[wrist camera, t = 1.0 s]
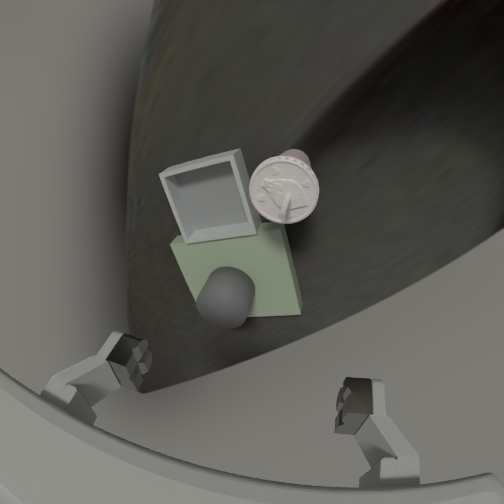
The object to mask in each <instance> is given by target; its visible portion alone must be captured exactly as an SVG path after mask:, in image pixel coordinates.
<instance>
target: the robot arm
mask: <svg viewBox="0 0 504 504" xmlns="http://www.w3.org/2000/svg"><path fill="white" fill-rule="evenodd" d="M147 346H148V343H147V340H145V339H141V338H138V337H135V336H132V335H128V334H126V333H122V332H119V331H114V332H112V334H111V335H110V336H109V338H108V339H107V341H106V342H105V344H104V345H103V347H102V348H101V349H100V351H99V352H98V354H97V355H96V356H91V357H89V358H87V359H85V360H83V361H81V362H79V363H77V364H75V365H73V366H71V367H69V368H67V369H65V370H63V371H61V372H59V373H57V374H55V375H53V377H52V378H51V379H50V381H49V382H48V384H47V385H46V387H45V388H44V390H43V391H42V392H41V394H40V395H38V394H37V393H35V392H34V391H32V390H31V389H29V388H27V387H26V386H24V385H23V384H22V383H20V382H19V381H17V380H16V379H14V378H13V377H11V376H10V375H9V374H7V373H6V372H5V371H3V370H2V369H1V368H0V504H504V484H503V483H502V482H501V481H500V480H499V479H498V477H497V476H495V475H494V474H493V473H483V474H479V475H474V476H470V477H465V478H460V479H455V480H449V481H442V482H436V483H428V484H420V481H419V480H420V478H419V455H418V454H417V452H416V451H415V450H414V448H413V447H412V446H411V444H410V443H409V441H408V440H407V439H406V437H405V436H404V435H403V433H402V432H401V430H400V429H399V428H398V426H397V425H396V424H395V422H394V421H393V420H392V418H391V417H390V416H389V415H388V416H387V415H386V400H385V386H384V381H383V380H376V379H367V378H352V377H346V378H345V380H344V382H343V387H342V388H340V391H339V394H338V398H337V404H336V410H337V412H338V415H337V417H336V419H335V432H334V433H340V434H352V435H354V436H355V438H356V440H357V442H358V444H359V445H360V447H361V449H362V451H363V453H364V455H365V457H366V459H367V461H368V463H369V464H370V466H371V469H370V470H369V471H368V472H366V473H365V474H364V475H363V476H361V477H360V479H359V488H347V487H324V486H323V487H322V486H311V485H300V484H291V483H284V482H276V481H270V480H263V479H258V478H252V477H247V476H242V475H237V474H232V473H228V472H223V471H219V470H215V469H211V468H207V467H203V466H200V465H196V464H193V463H190V462H186V461H183V460H180V459H176V458H173V457H170V456H167V455H164V454H162V453H159V452H156V451H153V450H150V449H148V448H145V447H142V446H140V445H137V444H135V443H132V442H130V441H127V440H125V439H123V438H120V437H118V436H116V435H113V434H111V433H109V432H107V431H105V430H102V429H100V428H98V427H96V426H94V425H93V424H94V422H95V420H96V418H97V416H96V414H95V413H94V411H93V410H92V409H91V407H92V406H93V405H95V404H96V403H97V402H99V401H100V400H102V399H103V398H105V397H106V396H108V395H109V394H111V393H112V392H114V391H115V390H117V389H118V388H119V387H121V386H124V387H127V388H130V389H133V390H136V391H137V390H138V389H139V387H140V385H141V383H142V381H143V374H144V373H146V372H148V370H149V368H150V366H151V362H152V355H151V352H150V351H149V350H148V349H147ZM120 385H121V386H120Z"/></svg>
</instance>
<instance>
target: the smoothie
mask: <svg viewBox="0 0 504 504" xmlns="http://www.w3.org/2000/svg"><path fill="white" fill-rule="evenodd" d="M249 195H250V199H251V202H252V204H253V205H254V207H255V209H256V210H257V211H258V212H259V213H260V214H261V215H262V216H263V217H265V218H266V219H268V220H270V221H273V222H276V223H281V224H291V223H296V222H299V221H301V220H303V219H305V218H306V217H307V216H308V215H310V214H311V212H312V211H313V210H314V208H315V206H316V204H317V200H318V197H319V184H318V180H317V178H316V176H315V174H314V172H313V171H312V169H311V165H310V161H309V158H308V157H307V155H306V154H305V153H304V152H302V151H300V150H297V149H291V150H288V151H286V152H284V153H282V154H281V155H279V156H277V157H272V158H270V159H267V160H265V161H264V162H262V163H261V164H260V165H259V166H258V167H257V168H256V170H255V171H254V173H253V175H252V177H251V180H250V184H249Z"/></svg>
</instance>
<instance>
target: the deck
mask: <svg viewBox="0 0 504 504" xmlns="http://www.w3.org/2000/svg"><path fill="white" fill-rule="evenodd" d="M159 176H160V179H161V182H162V184H163V187H164V190H165V192H166V195H167V198H168V200H169V203H170V205H171V208H172V211H173V213H174V216H175V218H176V221H177V223H178V226H179V228H180V231H181V234H182V235H180V236H177V237H176V238H175V239H174V240H173V242H172V243H171V244H170V246H171V248H172V250H173V253H174V255H175V257H176V259H177V262H178V264H179V266H180V269H181V271H182V273H183V275H184V277H185V280H186V282H187V284H188V286H189V288H190V291H191V293H192V295H193V297H194V299H195V301H196V307H197V310H198V312H199V313H200V315H201V316H202V317H203V318H204V319H205V320H206V321H208V322H209V323H211V324H213V325H215V326H217V327H220V328H227V329H230V328H236V327H239V326H241V325H242V324H243V323H244V322H245V320H246V318H247V317H261V316H283V315H300V314H301V310H302V304H303V303H302V298H301V294H300V289H299V285H298V280H297V276H296V272H295V267H294V263H293V259H292V254H291V250H290V246H289V242H288V238H287V233H286V229H285V225H284V224H281V223H276V222H266V223H262V222H261V219H260V215H259V212H258V211H257V210H256V209H255V207H254V205H253V204H252V202H251V199H250V195H249V184H250V180H249V176H248V173H247V170H246V166H245V163H244V159H243V156H242V152H241V149H236V150H232V151H228V152H223V153H219V154H215V155H212V156H208V157H204V158H200V159H196V160H193V161H189V162H185V163H182V164H178V165H175V166H171V167H169V168H167V169H166V170H164V171H163V172H161V173H160V174H159Z"/></svg>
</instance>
